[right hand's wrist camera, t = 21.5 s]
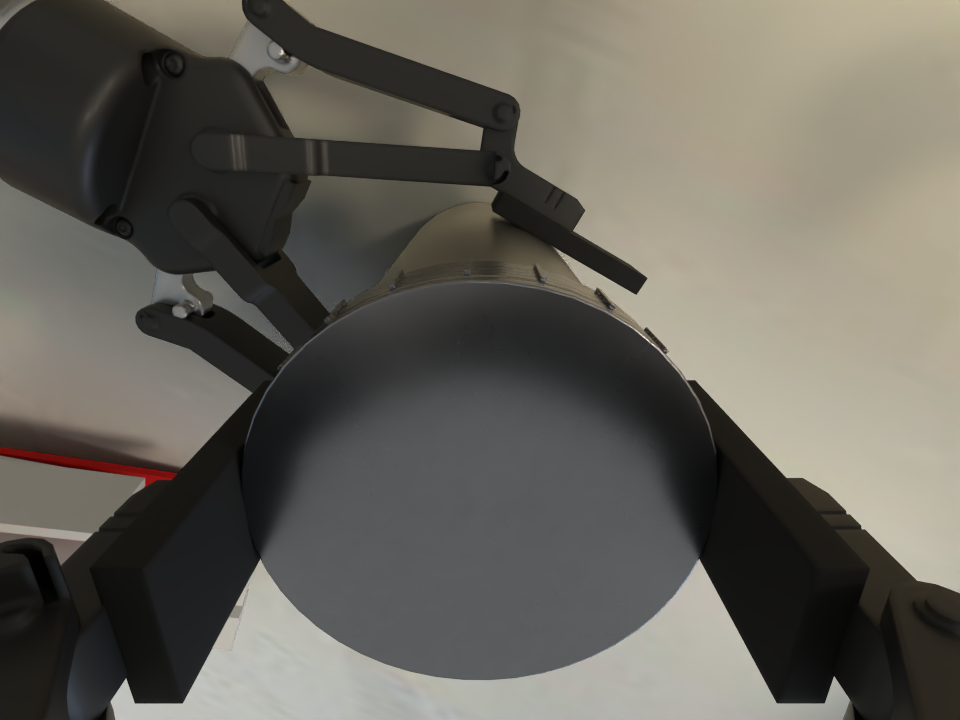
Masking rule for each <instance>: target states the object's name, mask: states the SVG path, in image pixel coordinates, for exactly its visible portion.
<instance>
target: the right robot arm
mask: <svg viewBox="0 0 960 720" xmlns="http://www.w3.org/2000/svg"><path fill="white" fill-rule="evenodd" d="M272 381H273V380H264V381H263V383H262V384H261V385H260V386H259V387H258V388H257V389H256V390H255V391H254V392H253V393H252V394H251V395H250V396H249V398H248V399H247V400H246V401H245V402H244V403H243V404H242V405H241V406H240V407H239V408H238V409H237V410H236V411H235V413H234V414H233V415H232V416H231V417H230V418H229V419H228V420H227V421H226V422H225V423H224V424H223V425H222V426H221V428H220V429H219V430H218V431H217V432H216V433H215V434H214V435H213V436H212V437H211V438H210V439H209V440H208V441H207V443H206V444H205V445H204V446H203V447H202V448H201V449H200V450H199V451H198V452H197V453H196V454H195V455H194V456H193V458H192V459H191V460H190V461H189V462H188V463H187V464H186V465H185V466H184V467H183V468H182V469H181V470H180V471H179V473H178V474H177V475H176V476H175V477H174V478H173V479H172V480H156V481H155V482H153V483H151V484H150V485H148V486H146V487H145V488H143V489H141V490H140V491H138V492H136V493H135V494H133V495H131V496H130V497H129V498H128V499H127V500H126V501H125V502H124V503H123V504H122V505H121V506H120V507H119V508H118V509H117V510H116V511H115V512H114V516H110V517H109V518H108V519H107V520H106V521H105V522H104V523H103V524H102V525H101V526H100V527H99V531H98V532H94V533H93V534H92V535H91V536H90V537H89V538H88V539H87V540H86V541H85V542H84V543H83V544H82V545H81V546H80V547H79V548H78V549H77V550H76V551H75V552H74V553H73V554H72V555H71V556H70V557H69V558H68V559H67V560H66V561H65V562H64V563H63V564H62V565H60V562H59V560H58V557H57V554H56V551H55V549H54V546H53V544H51V543H50V542H48V541H47V540H45V539H41V538H22V539H16V540H10V541H5V542H2V543H0V720H115V716H114V711H113V708H112V705H111V702H110V701H111V700H112V698H113V697H114V695H115V694H116V692H117V691H118V689H119V688H120V686H121V685H122V683H123V682H124V680H125V679H126V678H127V681H128V684H129V687H130V690H131V693H132V696H133V699H134V702H135V703H183V702H184V700H185V698H186V696H187V694H188V692H189V691H190V689H191V687H192V685H193V683H194V681H195V679H196V678H197V676H198V674H199V672H200V670H201V668H202V666H203V665H204V663H205V661H206V659H207V657H208V655H209V653H210V651H211V650H212V648H213V646H214V644H215V642H216V640H217V638H218V637H219V635H220V633H221V631H222V629H223V627H224V625H225V624H226V622H227V620H228V618H229V616H230V614H231V612H232V610H233V609H234V607H235V605H236V603H237V601H238V599H239V597H240V596H241V594H242V592H243V590H244V588H245V586H246V584H247V583H248V581H249V579H250V577H251V575H252V573H253V571H254V569H255V568H256V566H257V564H258V562H259V560H260V556H259V554H258V552H257V551H256V549H255V547H254V544H253V541H252V538H251V535H250V532H249V527H248V523H247V518H246V512H245V507H244V502H243V497H242V477H241V468H242V461H243V454H244V447H245V441H246V438H247V435H248V432H249V429H250V425H251V422H252V419H253V416H254V414H255V412H256V410H257V408H258V406H259V404H260V402H261V400H262V398H263V396H264V394H265V392H266V390H267V388H268V387H269V385H270V384H271V383H272ZM687 382H688V383H689V385H690V386H691V388H692V389H693V391H694V393H695V394H696V396H697V398H698V399H699V400H700V402H701V404H702V409H703V411H704V413H705V415H706V418H707V420H708V422H709V426H710V429H711V433H712V437H713V441H714V444H715V448H716V456H717V466H718V476H719V477H718V493H717V499H716V505H715V510H714V515H713V520H712V525H711V530H710V534H709V536H708V539H707V542H706V544H705V547H704V550H703V552H702V554H701V556H700V558H699V559H700V561H701V563H702V565H703V566H704V568H705V570H706V572H707V574H708V576H709V578H710V579H711V581H712V583H713V585H714V587H715V589H716V591H717V592H718V594H719V596H720V598H721V600H722V602H723V604H724V606H725V607H726V609H727V611H728V613H729V615H730V617H731V619H732V620H733V622H734V624H735V626H736V628H737V630H738V632H739V634H740V635H741V637H742V639H743V641H744V643H745V645H746V647H747V648H748V650H749V652H750V654H751V656H752V658H753V660H754V661H755V663H756V665H757V667H758V669H759V671H760V673H761V675H762V676H763V678H764V680H765V682H766V684H767V686H768V688H769V689H770V691H771V693H772V695H773V697H774V699H775V701H776V702H777V703H825V701H826V698H827V695H828V692H829V689H830V686H831V683H832V680H833V677H834V676H835V678H836V679H837V681H838V682H839V684H840V685H841V687H842V688H843V690H844V691H845V693H846V694H847V696H848V697H849V699H850V702H849V705H848V708H847V710H846V713H845V716H844V719H843V720H960V593H958V592H955V591H952V590H950V589H947V588H944V587H942V586H939V585H936V584H931V583H926V582H920V581H917V580H916V579H915V578H914V577H913V576H912V575H911V574H910V573H909V572H908V571H907V570H906V569H905V568H903V567H902V566H901V565H900V564H899V563H898V562H897V561H896V560H895V559H894V558H893V557H892V556H891V555H890V554H889V553H888V552H887V551H886V550H885V549H884V548H883V547H882V546H881V545H880V544H879V543H878V542H877V541H876V540H875V539H874V538H873V537H872V536H871V535H870V534H869V533H868V532H867V531H866V530H862V529H861V525H860V524H859V523H858V522H857V521H856V520H855V519H854V518H853V517H852V516H851V515H847V514H846V510H845V509H844V508H843V507H842V506H841V505H840V504H839V503H838V502H837V501H836V500H835V499H834V498H832V497H831V496H830V495H829V494H828V493H827V492H825V491H824V490H822V489H820V488H819V487H817V486H815V485H813V484H812V483H810V482H808V481H807V480H805V479H803V478H786V477H785V476H784V475H783V474H782V473H781V472H780V471H779V470H778V469H777V468H776V467H775V465H774V464H773V463H772V462H771V461H770V460H769V459H768V458H767V457H766V456H765V455H764V454H763V453H762V452H761V450H760V449H759V448H758V447H757V446H756V445H755V444H754V443H753V442H752V441H751V440H750V439H749V438H748V437H747V435H746V434H745V433H744V432H743V431H742V430H741V429H740V428H739V427H738V426H737V425H736V424H735V423H734V422H733V420H732V419H731V418H730V417H729V416H728V415H727V414H726V413H725V412H724V411H723V410H722V409H721V408H720V407H719V405H718V404H717V403H716V402H715V401H714V400H713V399H712V398H711V397H710V396H709V395H708V394H707V393H706V392H705V390H704V389H703V388H702V387H701V386H700V385H699V384H698V383H697V382H696V381H695V380H687Z"/></svg>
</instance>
